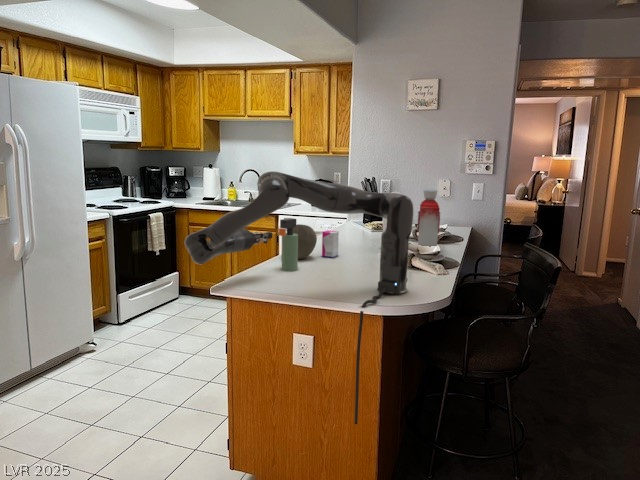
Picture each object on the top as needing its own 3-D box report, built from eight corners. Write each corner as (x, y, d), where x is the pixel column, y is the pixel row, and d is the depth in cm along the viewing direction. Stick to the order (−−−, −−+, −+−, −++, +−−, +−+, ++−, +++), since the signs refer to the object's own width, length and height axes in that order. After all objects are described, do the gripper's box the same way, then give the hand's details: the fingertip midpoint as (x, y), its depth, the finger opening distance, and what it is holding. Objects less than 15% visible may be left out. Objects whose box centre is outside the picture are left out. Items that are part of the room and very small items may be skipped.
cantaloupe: (312, 262, 206) (313, 227, 203) (280, 260, 209) (280, 226, 206) (319, 256, 220) (319, 223, 217) (288, 254, 222) (289, 221, 220)
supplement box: (338, 255, 221) (339, 231, 219) (333, 258, 215) (334, 232, 213) (326, 254, 223) (327, 229, 221) (321, 257, 218) (322, 231, 216)
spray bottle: (287, 272, 189) (288, 221, 185) (275, 269, 193) (275, 219, 189) (300, 268, 195) (301, 219, 191) (288, 266, 199) (289, 217, 195)
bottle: (438, 255, 225) (442, 190, 220) (415, 254, 227) (419, 190, 222) (437, 249, 239) (441, 188, 234) (416, 248, 241) (419, 187, 236)
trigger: (283, 236, 187) (283, 229, 187) (278, 235, 189) (278, 228, 188) (285, 235, 188) (285, 229, 188) (280, 235, 190) (280, 228, 189)
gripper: (250, 232, 165) (284, 226, 178) (223, 228, 173) (258, 223, 186) (250, 254, 166) (284, 246, 180) (224, 249, 174) (258, 242, 188)
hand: (270, 234), depth 183 cm, fingers closed
